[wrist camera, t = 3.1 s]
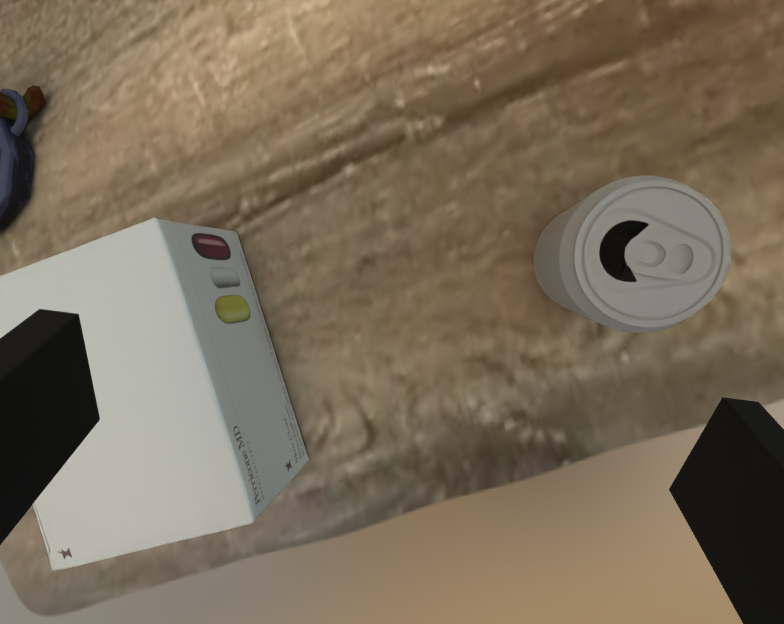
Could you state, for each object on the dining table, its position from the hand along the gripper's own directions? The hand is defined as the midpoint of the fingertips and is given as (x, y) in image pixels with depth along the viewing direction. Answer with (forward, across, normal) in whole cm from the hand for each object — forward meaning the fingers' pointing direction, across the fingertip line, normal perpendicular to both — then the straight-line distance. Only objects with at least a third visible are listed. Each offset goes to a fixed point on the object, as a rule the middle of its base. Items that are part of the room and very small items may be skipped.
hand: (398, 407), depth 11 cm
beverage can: (+21, +12, -4) cm, 24 cm away
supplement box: (+21, -13, -16) cm, 29 cm away
